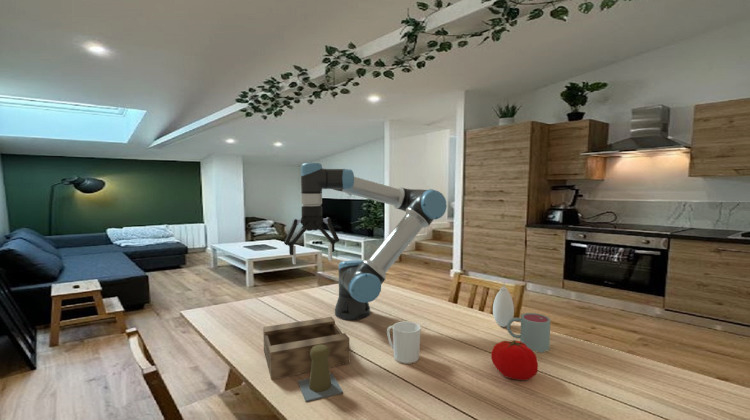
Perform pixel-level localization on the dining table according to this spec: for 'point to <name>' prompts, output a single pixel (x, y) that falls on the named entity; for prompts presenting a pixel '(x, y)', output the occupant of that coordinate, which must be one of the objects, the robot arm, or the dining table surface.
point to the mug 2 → (533, 331)
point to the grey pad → (313, 395)
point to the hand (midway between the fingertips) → (312, 262)
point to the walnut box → (303, 346)
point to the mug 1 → (405, 341)
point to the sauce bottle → (503, 307)
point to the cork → (319, 369)
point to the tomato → (514, 360)
